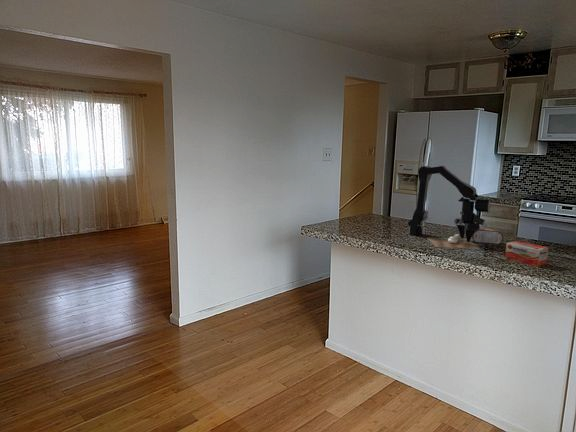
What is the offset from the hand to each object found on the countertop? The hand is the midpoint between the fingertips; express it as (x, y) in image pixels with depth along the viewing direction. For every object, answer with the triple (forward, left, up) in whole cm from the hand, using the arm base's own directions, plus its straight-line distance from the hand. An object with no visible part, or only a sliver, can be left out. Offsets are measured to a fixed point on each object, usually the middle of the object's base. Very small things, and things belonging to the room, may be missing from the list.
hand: (465, 239), depth 217 cm
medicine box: (+18, -28, -3) cm, 33 cm away
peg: (-5, +1, -1) cm, 5 cm away
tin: (+12, +2, -3) cm, 12 cm away
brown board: (-7, -3, -3) cm, 8 cm away
